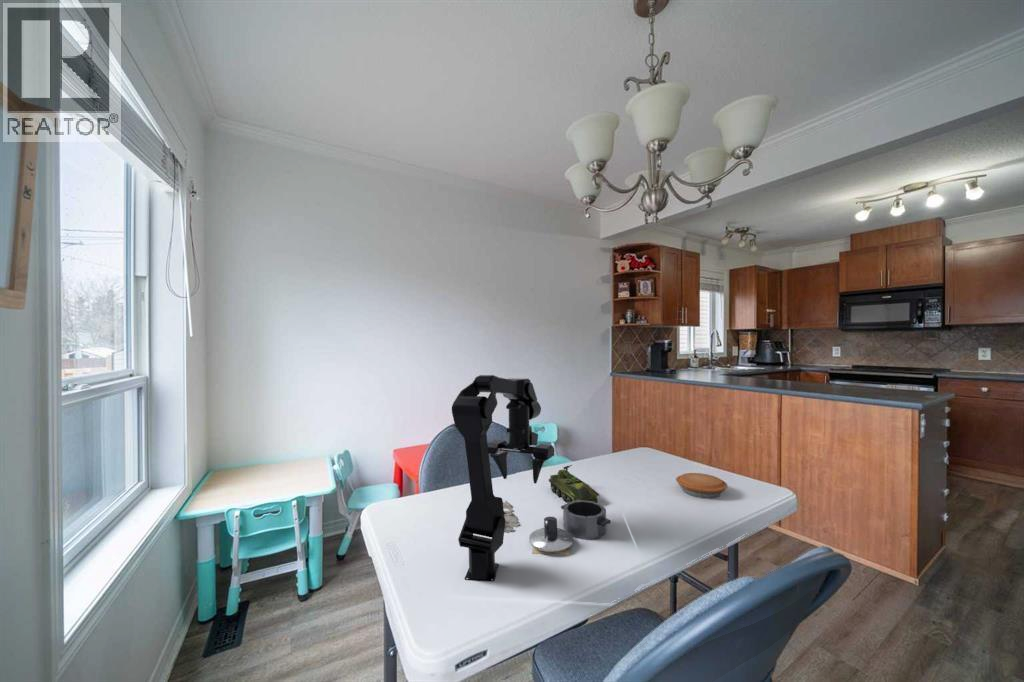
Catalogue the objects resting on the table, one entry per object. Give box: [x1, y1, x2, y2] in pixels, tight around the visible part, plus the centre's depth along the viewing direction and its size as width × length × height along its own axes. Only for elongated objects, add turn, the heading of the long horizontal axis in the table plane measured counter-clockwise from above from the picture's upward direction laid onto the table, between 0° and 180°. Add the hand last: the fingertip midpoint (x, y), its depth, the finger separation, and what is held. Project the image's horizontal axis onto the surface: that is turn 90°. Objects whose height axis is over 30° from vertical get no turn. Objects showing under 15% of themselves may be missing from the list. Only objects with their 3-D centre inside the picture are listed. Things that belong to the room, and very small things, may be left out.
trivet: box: [531, 546, 571, 556], centre depth 91 cm, size 9×9×1 cm
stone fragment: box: [503, 500, 521, 534], centre depth 109 cm, size 25×3×10 cm
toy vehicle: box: [548, 464, 600, 504], centre depth 123 cm, size 9×20×10 cm, turn 20°
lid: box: [528, 516, 574, 552], centre depth 91 cm, size 11×11×6 cm
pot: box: [560, 500, 611, 541], centre depth 99 cm, size 14×11×6 cm
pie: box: [675, 472, 728, 500], centre depth 124 cm, size 16×16×5 cm
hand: (520, 480), depth 101 cm, fingers open, 9 cm apart
